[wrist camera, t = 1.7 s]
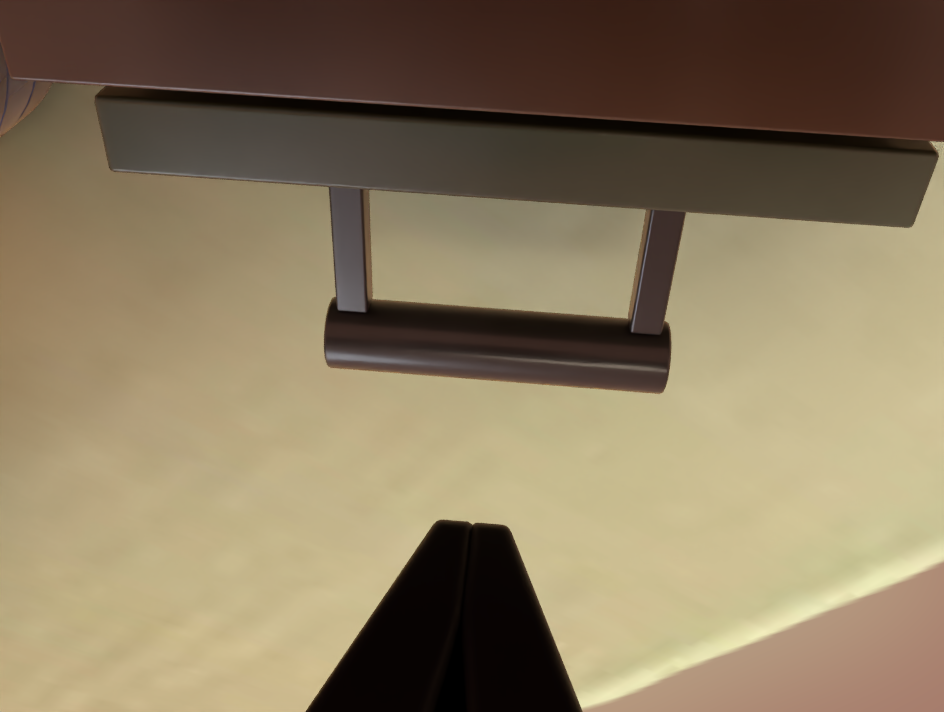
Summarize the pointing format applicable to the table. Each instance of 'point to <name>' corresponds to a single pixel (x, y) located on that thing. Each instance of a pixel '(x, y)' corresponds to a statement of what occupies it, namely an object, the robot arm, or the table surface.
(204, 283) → the table surface
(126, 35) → the cabinet
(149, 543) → the table surface
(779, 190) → the drawer
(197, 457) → the table surface
